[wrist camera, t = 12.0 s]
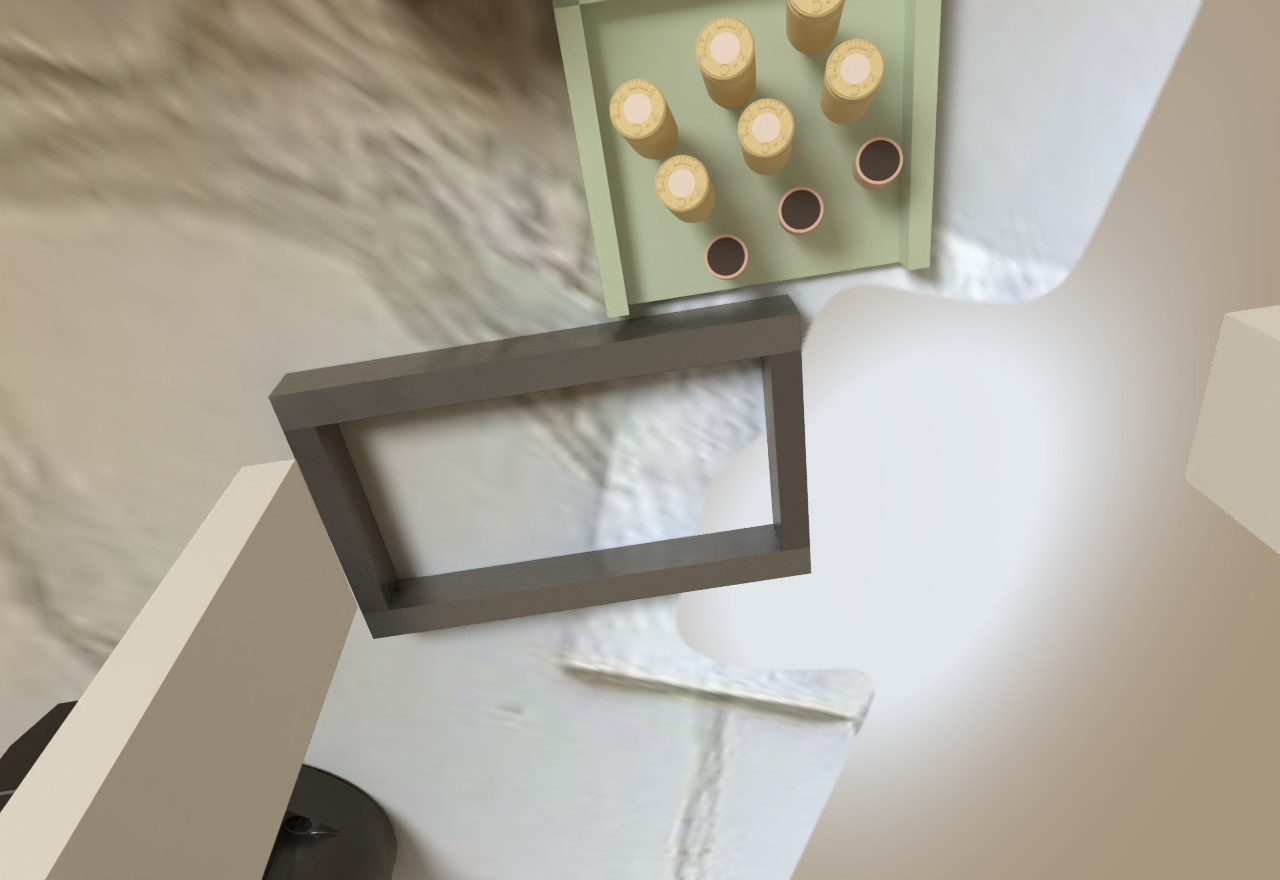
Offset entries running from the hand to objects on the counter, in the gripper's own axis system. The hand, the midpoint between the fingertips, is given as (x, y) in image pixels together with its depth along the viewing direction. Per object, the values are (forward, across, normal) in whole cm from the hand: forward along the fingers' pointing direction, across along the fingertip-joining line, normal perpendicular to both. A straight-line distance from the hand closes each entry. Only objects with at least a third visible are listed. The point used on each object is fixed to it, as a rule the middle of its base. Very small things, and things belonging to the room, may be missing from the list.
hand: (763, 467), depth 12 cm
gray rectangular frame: (+20, +5, +11) cm, 23 cm away
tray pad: (+19, -4, -1) cm, 20 cm away
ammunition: (+19, -4, -2) cm, 20 cm away
